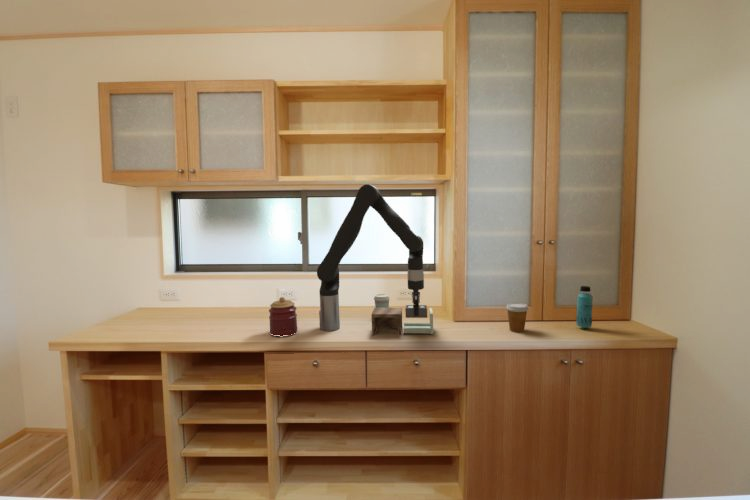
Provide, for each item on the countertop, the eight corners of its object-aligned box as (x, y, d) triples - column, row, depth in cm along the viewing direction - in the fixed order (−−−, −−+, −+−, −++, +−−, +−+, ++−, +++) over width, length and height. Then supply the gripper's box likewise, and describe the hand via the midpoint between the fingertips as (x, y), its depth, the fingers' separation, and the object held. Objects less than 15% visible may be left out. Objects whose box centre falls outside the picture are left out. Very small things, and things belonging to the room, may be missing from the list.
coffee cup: (391, 315, 206) (391, 294, 205) (388, 319, 198) (387, 297, 197) (376, 314, 209) (376, 293, 208) (372, 319, 200) (371, 297, 199)
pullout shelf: (403, 333, 173) (403, 313, 172) (404, 326, 183) (403, 308, 182) (433, 333, 172) (432, 313, 171) (432, 327, 182) (431, 308, 181)
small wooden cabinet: (372, 335, 174) (371, 314, 173) (375, 327, 186) (374, 307, 185) (401, 335, 172) (400, 314, 171) (402, 327, 184) (401, 307, 183)
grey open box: (405, 317, 175) (405, 308, 174) (405, 314, 180) (405, 305, 180) (427, 317, 174) (427, 308, 173) (426, 314, 179) (426, 305, 179)
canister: (294, 337, 174) (292, 299, 173) (266, 338, 174) (264, 300, 172) (299, 328, 187) (298, 293, 186) (273, 329, 187) (271, 294, 185)
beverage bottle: (572, 327, 177) (573, 285, 175) (583, 325, 179) (584, 284, 177) (584, 331, 171) (586, 288, 169) (595, 329, 173) (596, 286, 171)
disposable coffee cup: (525, 327, 179) (526, 302, 178) (529, 333, 170) (529, 307, 169) (504, 326, 181) (504, 302, 180) (507, 333, 172) (507, 307, 171)
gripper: (407, 276, 183) (408, 310, 184) (407, 281, 168) (407, 318, 170) (423, 276, 182) (424, 310, 184) (424, 281, 168) (424, 318, 169)
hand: (416, 313), depth 177 cm, fingers closed on grey open box, 5 cm apart
